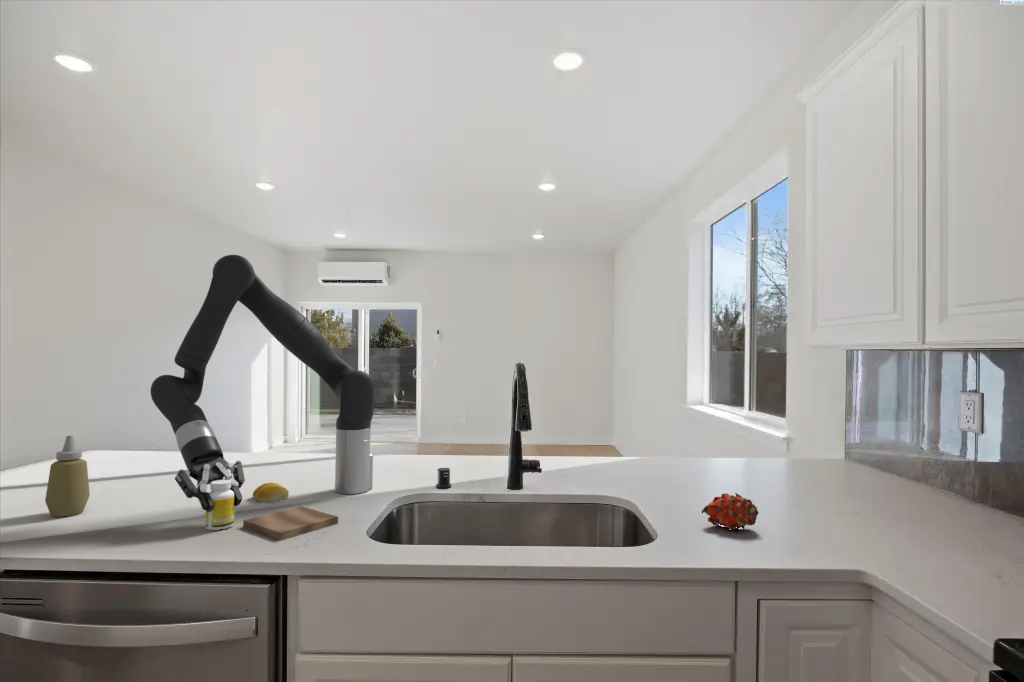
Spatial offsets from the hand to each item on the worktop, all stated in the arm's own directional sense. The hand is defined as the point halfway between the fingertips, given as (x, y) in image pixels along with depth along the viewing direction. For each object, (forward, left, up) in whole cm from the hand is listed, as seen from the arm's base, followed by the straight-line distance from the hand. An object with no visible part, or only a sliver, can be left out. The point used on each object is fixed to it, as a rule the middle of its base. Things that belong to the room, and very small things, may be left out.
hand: (224, 506), depth 118 cm
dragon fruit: (-67, +88, -5) cm, 111 cm away
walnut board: (-10, +9, -5) cm, 14 cm away
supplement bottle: (0, -2, -5) cm, 5 cm away
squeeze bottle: (+16, -39, -5) cm, 42 cm away
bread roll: (-20, -15, -5) cm, 25 cm away
